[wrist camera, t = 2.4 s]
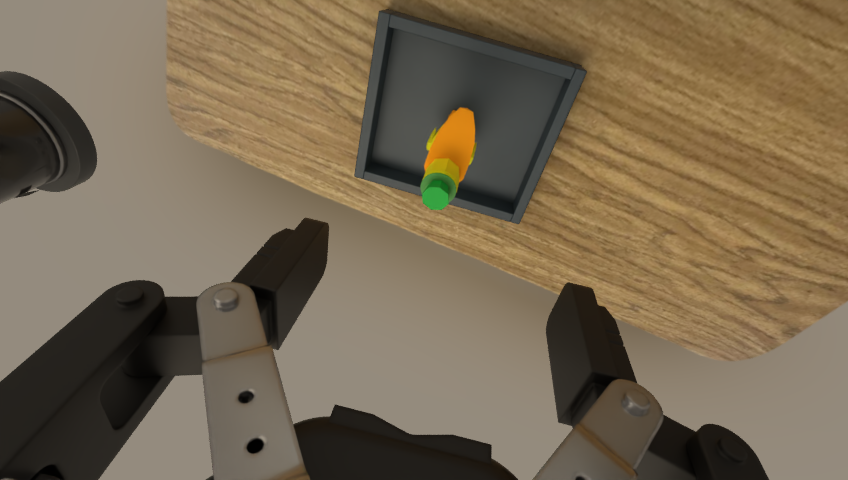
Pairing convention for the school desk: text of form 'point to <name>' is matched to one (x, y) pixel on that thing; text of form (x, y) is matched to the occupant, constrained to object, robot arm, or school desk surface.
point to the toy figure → (448, 158)
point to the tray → (467, 88)
